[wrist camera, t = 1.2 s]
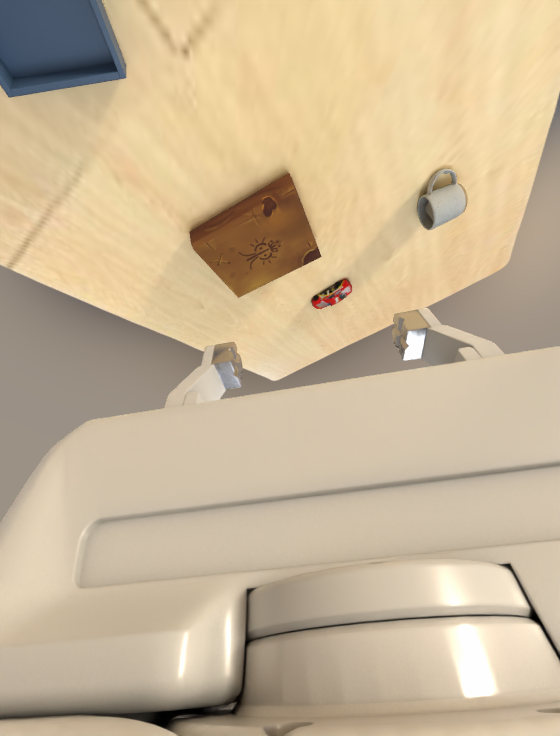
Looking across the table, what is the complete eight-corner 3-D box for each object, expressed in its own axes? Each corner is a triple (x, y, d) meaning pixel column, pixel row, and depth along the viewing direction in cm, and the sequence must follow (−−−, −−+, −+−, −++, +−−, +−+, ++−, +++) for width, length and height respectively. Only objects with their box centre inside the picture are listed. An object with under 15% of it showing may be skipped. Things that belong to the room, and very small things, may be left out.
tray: (13, 84, 37) (8, 97, 35) (-108, -100, 26) (-124, -92, 24) (126, 65, 38) (126, 78, 36) (56, -119, 27) (51, -113, 25)
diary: (287, 169, 54) (295, 187, 52) (314, 240, 70) (321, 256, 68) (188, 229, 60) (191, 248, 57) (234, 281, 76) (238, 298, 74)
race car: (315, 306, 95) (319, 316, 93) (308, 299, 90) (311, 308, 89) (352, 285, 89) (356, 294, 88) (346, 276, 85) (350, 286, 83)
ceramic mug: (449, 202, 70) (465, 222, 67) (415, 217, 72) (429, 237, 68) (459, 158, 61) (479, 179, 57) (420, 176, 62) (437, 197, 59)
